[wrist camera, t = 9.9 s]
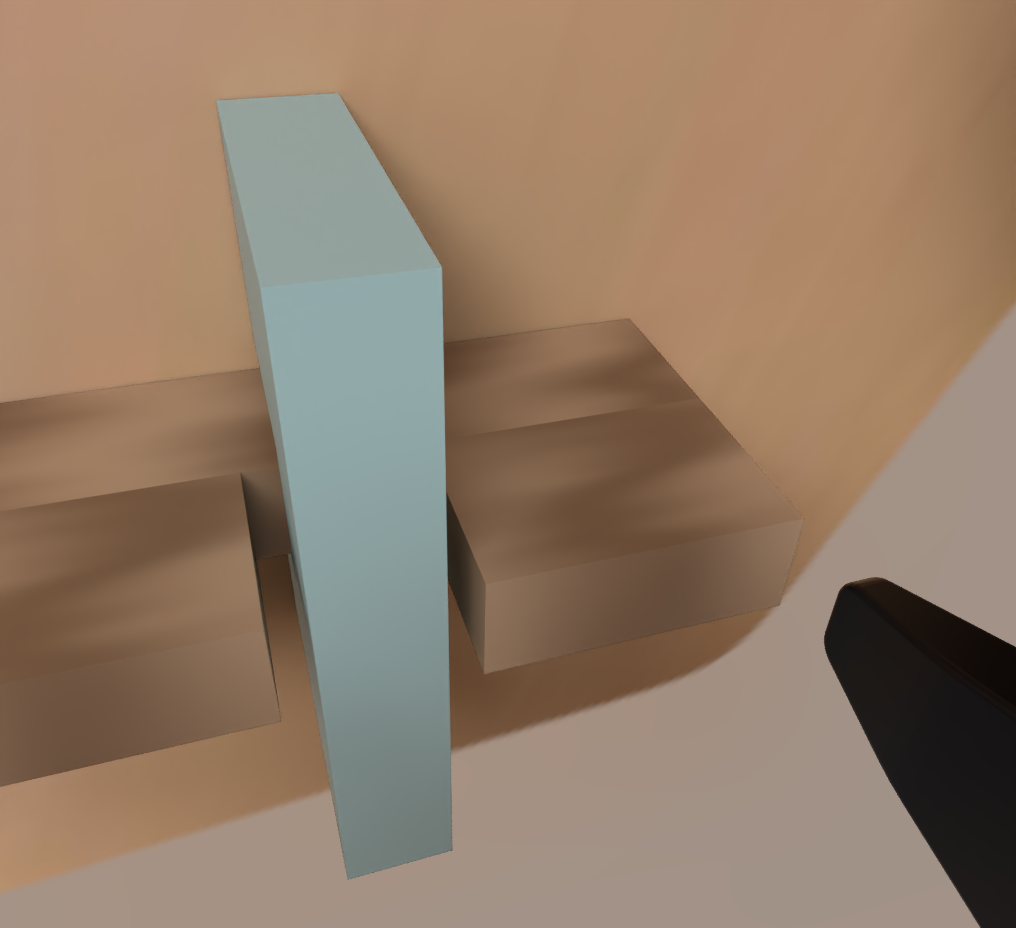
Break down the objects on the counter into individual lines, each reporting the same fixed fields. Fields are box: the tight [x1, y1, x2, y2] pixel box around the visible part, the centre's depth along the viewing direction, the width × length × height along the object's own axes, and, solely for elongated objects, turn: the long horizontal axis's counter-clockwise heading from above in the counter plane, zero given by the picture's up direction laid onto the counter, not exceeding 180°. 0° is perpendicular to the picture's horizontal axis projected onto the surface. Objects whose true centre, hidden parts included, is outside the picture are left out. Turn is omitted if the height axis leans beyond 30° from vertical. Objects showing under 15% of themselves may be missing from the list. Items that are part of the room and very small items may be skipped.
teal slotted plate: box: [216, 93, 452, 879], centre depth 16 cm, size 12×2×7 cm, turn 178°
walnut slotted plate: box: [0, 319, 805, 787], centre depth 16 cm, size 14×2×7 cm, turn 88°
